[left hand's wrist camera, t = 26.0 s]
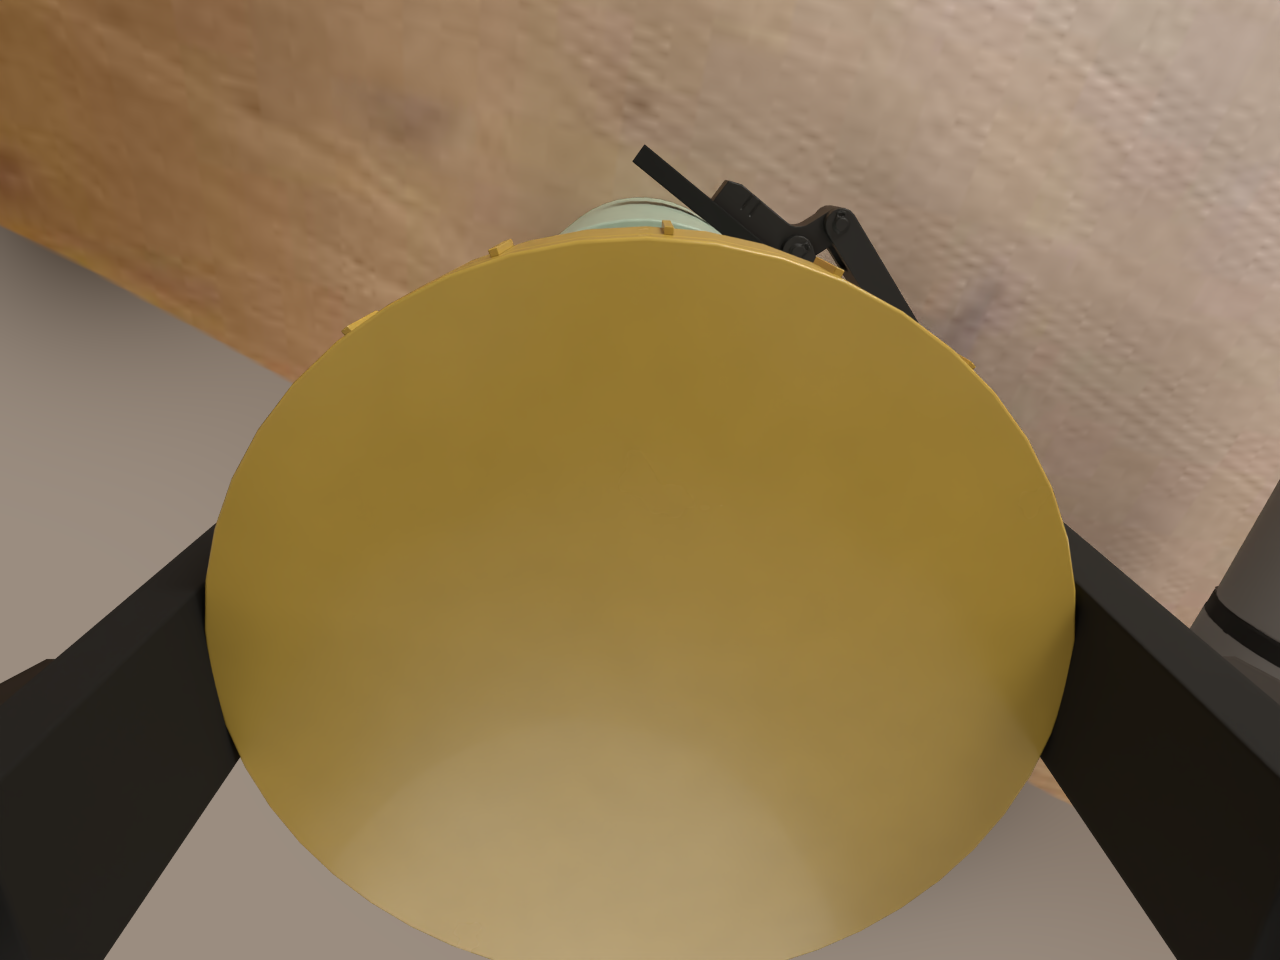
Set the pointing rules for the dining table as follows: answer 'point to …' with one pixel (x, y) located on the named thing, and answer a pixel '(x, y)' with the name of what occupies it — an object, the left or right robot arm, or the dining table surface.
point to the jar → (639, 216)
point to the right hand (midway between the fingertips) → (558, 267)
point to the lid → (640, 603)
